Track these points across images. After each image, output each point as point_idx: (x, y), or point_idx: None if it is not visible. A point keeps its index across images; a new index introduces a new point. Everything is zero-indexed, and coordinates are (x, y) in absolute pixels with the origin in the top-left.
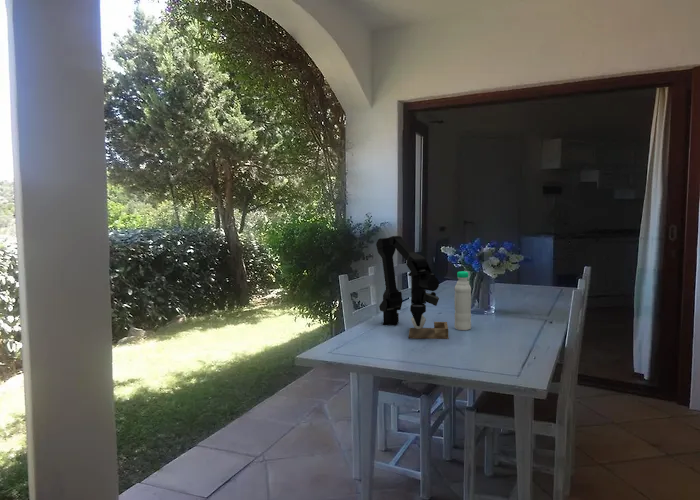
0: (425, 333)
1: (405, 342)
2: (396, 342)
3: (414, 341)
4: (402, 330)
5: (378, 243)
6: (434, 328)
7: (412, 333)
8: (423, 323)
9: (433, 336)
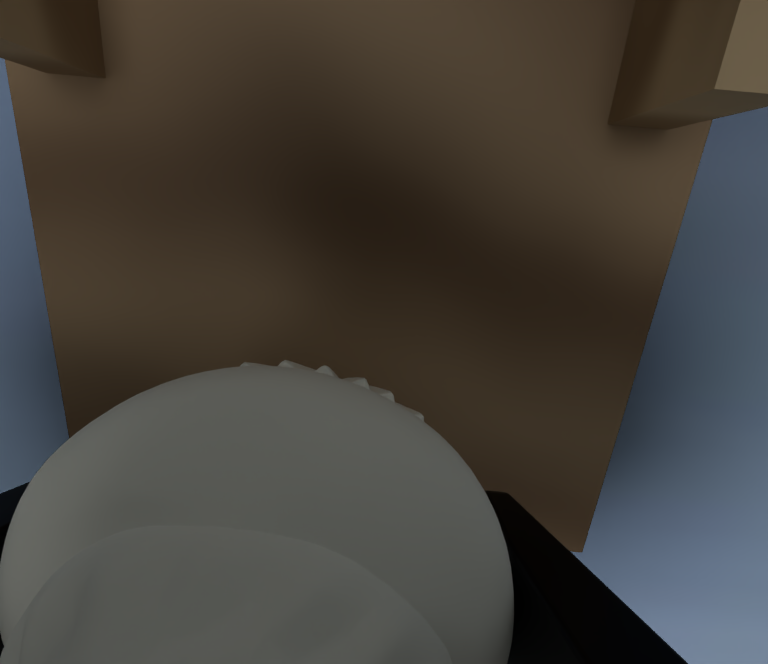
0: (436, 295)
1: (757, 576)
2: (725, 659)
3: (743, 473)
4: None
5: None
6: (91, 67)
7: None
8: (418, 415)
9: (673, 161)
